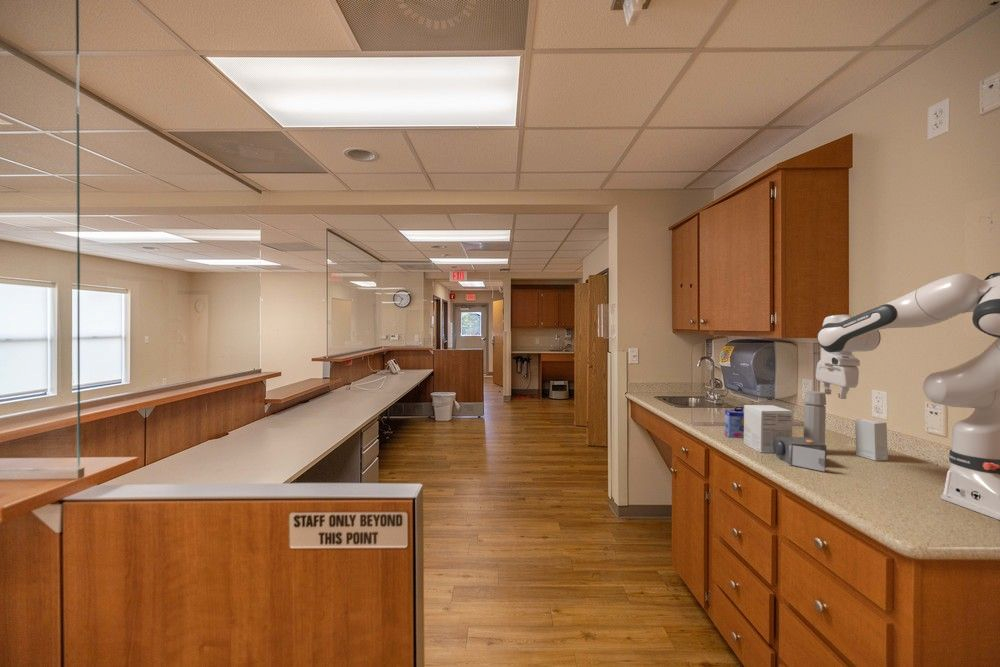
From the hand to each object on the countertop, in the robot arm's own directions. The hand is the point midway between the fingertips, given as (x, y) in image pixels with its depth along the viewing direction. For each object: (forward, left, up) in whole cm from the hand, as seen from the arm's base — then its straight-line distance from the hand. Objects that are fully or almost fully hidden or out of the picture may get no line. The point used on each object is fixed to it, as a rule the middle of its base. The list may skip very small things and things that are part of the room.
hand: (834, 396), depth 155 cm
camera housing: (+7, +7, -27) cm, 28 cm away
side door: (-2, +10, -26) cm, 28 cm away
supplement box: (+24, +11, -27) cm, 38 cm away
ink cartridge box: (+43, +15, -27) cm, 53 cm away
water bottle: (+22, -6, -27) cm, 35 cm away
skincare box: (+16, -24, -27) cm, 39 cm away
